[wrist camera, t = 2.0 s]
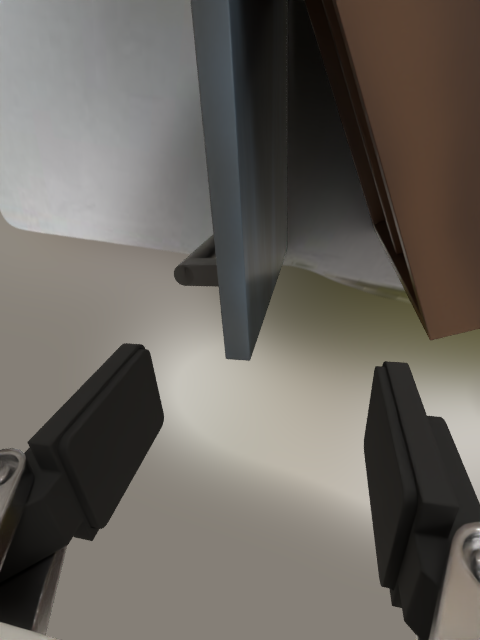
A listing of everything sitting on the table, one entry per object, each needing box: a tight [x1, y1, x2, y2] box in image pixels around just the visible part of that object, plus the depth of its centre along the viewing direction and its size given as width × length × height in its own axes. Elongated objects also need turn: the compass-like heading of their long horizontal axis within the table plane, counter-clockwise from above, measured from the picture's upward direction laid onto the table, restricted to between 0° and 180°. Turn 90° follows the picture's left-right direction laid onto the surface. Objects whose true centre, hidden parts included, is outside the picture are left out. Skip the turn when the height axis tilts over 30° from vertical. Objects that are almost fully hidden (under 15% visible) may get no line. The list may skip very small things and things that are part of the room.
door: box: [174, 0, 287, 361], centre depth 26 cm, size 8×26×24 cm, turn 4°
